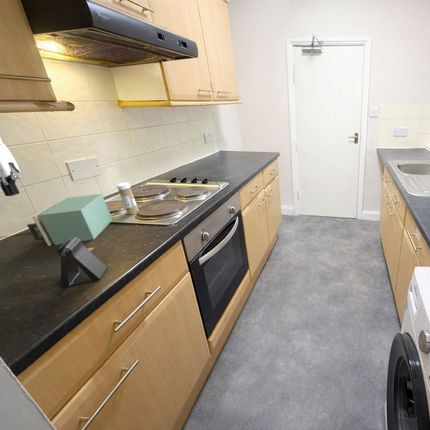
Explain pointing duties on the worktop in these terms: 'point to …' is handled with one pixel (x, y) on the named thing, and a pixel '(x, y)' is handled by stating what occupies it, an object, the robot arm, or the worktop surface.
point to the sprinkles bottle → (127, 198)
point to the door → (41, 227)
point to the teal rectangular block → (76, 218)
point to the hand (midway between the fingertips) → (12, 194)
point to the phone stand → (78, 264)
